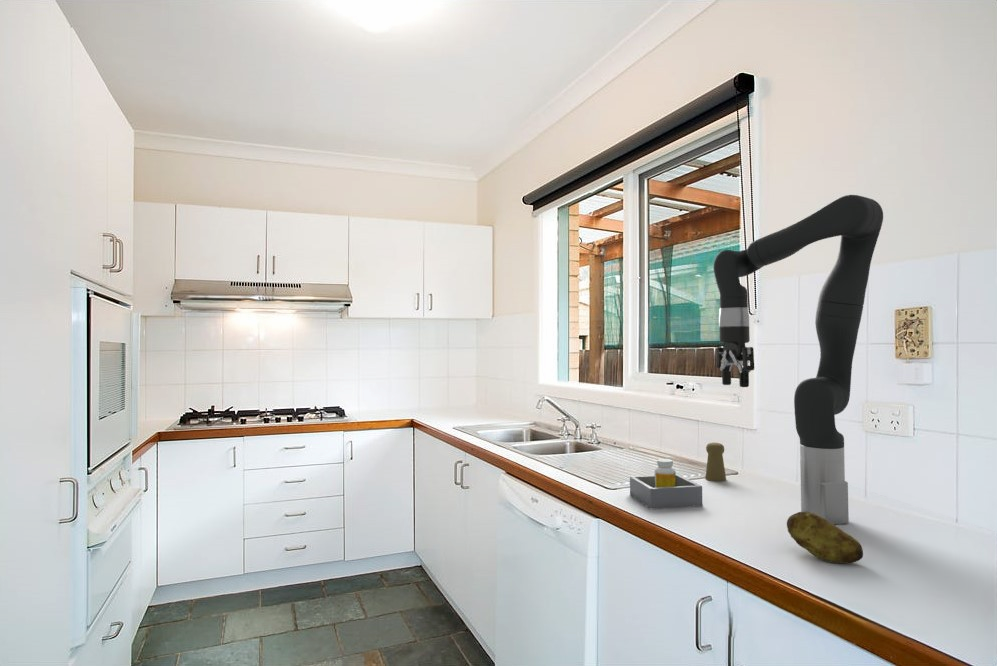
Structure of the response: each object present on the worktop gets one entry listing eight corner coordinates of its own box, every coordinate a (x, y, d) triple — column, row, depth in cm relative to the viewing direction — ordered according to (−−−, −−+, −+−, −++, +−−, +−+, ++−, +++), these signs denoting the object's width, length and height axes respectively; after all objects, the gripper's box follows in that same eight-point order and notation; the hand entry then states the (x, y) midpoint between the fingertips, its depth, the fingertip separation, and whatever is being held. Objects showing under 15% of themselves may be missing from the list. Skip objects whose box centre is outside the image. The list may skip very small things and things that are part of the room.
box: (702, 505, 153) (702, 486, 153) (650, 508, 151) (650, 488, 151) (677, 492, 167) (677, 474, 167) (630, 494, 165) (629, 476, 165)
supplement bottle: (652, 494, 161) (651, 458, 161) (672, 493, 161) (671, 458, 161) (658, 499, 156) (657, 462, 156) (678, 498, 156) (678, 461, 156)
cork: (722, 482, 177) (722, 445, 177) (702, 479, 181) (701, 443, 181) (728, 478, 182) (728, 442, 182) (708, 476, 186) (708, 440, 186)
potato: (838, 572, 109) (837, 528, 109) (779, 550, 120) (779, 510, 121) (869, 565, 112) (868, 522, 112) (809, 544, 124) (808, 505, 124)
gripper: (762, 324, 153) (763, 387, 153) (732, 325, 167) (733, 383, 167) (735, 324, 152) (736, 388, 151) (707, 326, 166) (708, 384, 166)
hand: (735, 385), depth 159 cm, fingers open, 8 cm apart
